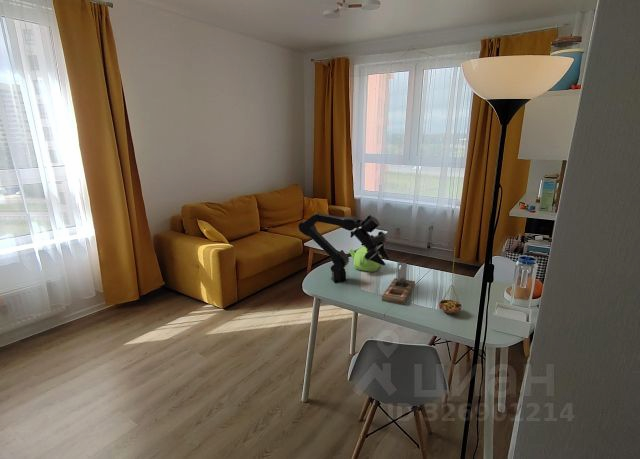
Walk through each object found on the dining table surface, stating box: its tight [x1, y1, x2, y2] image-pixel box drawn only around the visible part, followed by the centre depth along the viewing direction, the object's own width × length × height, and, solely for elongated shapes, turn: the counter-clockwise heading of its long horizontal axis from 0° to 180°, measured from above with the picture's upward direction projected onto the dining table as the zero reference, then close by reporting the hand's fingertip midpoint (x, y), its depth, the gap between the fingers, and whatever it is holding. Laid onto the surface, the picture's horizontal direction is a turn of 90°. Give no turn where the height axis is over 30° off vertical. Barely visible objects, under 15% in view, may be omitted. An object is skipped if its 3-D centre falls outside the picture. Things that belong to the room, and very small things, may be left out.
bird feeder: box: [438, 247, 462, 314], centre depth 141 cm, size 9×9×30 cm
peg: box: [397, 262, 408, 288], centre depth 166 cm, size 4×4×13 cm
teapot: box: [348, 246, 383, 273], centre depth 194 cm, size 18×20×13 cm
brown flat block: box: [381, 277, 416, 306], centre depth 163 cm, size 22×10×3 cm, turn 153°
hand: (386, 261), depth 167 cm, fingers open, 9 cm apart
